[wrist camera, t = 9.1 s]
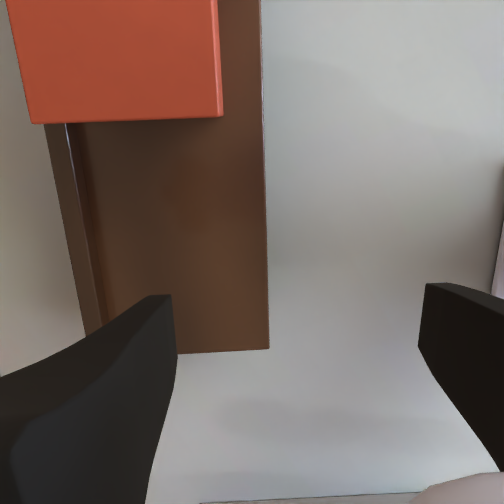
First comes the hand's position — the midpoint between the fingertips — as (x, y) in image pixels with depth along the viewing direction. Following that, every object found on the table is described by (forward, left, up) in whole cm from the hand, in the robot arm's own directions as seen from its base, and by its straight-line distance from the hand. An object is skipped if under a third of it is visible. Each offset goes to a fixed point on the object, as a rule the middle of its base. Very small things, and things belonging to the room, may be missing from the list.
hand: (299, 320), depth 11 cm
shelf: (+4, -5, -10) cm, 12 cm away
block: (+4, -8, -6) cm, 11 cm away
